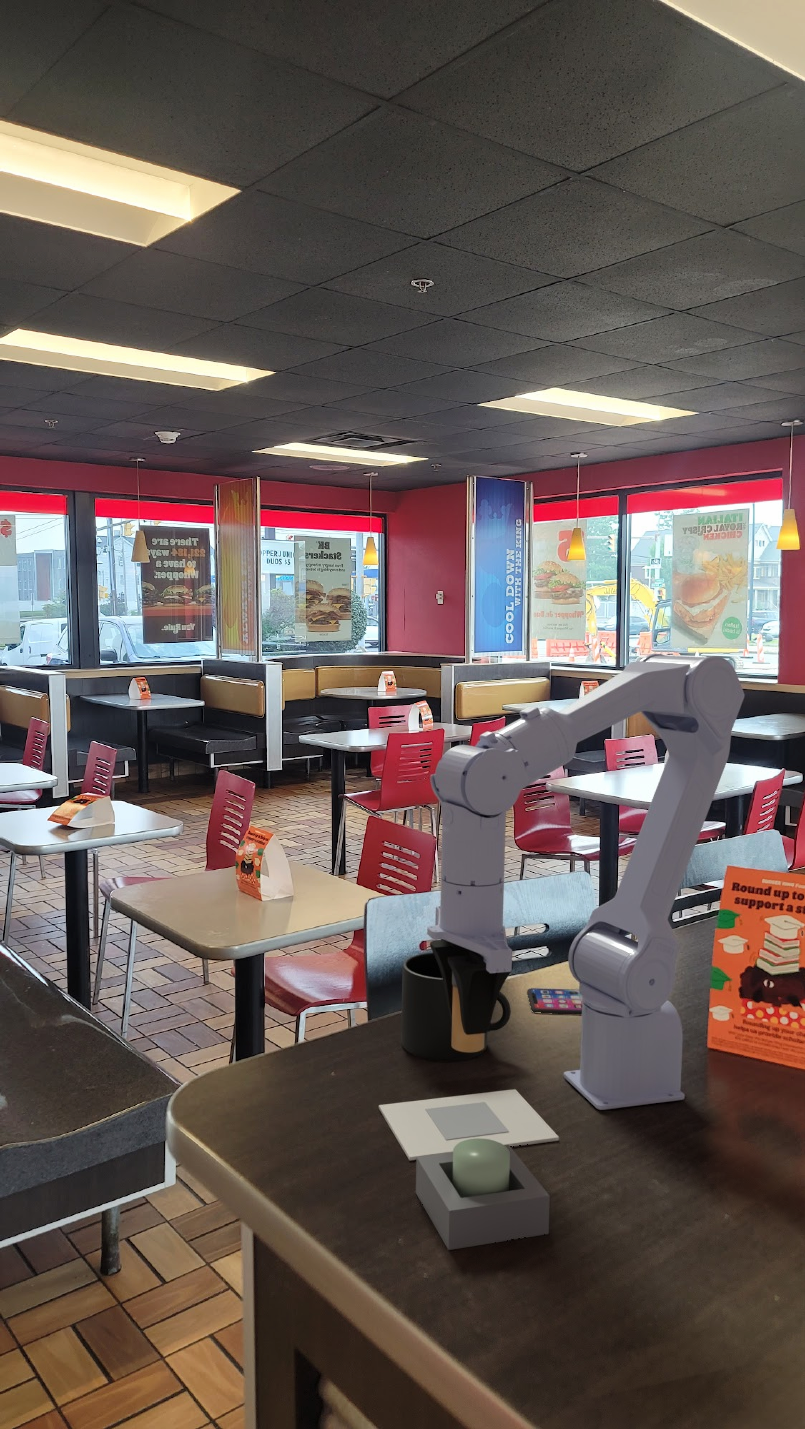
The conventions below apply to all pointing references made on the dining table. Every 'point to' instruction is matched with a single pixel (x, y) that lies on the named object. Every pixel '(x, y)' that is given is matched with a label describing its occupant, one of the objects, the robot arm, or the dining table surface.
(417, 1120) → the paper
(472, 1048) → the bottle
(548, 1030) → the dining table surface
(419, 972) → the mug
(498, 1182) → the button
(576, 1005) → the smartphone
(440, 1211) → the button housing
